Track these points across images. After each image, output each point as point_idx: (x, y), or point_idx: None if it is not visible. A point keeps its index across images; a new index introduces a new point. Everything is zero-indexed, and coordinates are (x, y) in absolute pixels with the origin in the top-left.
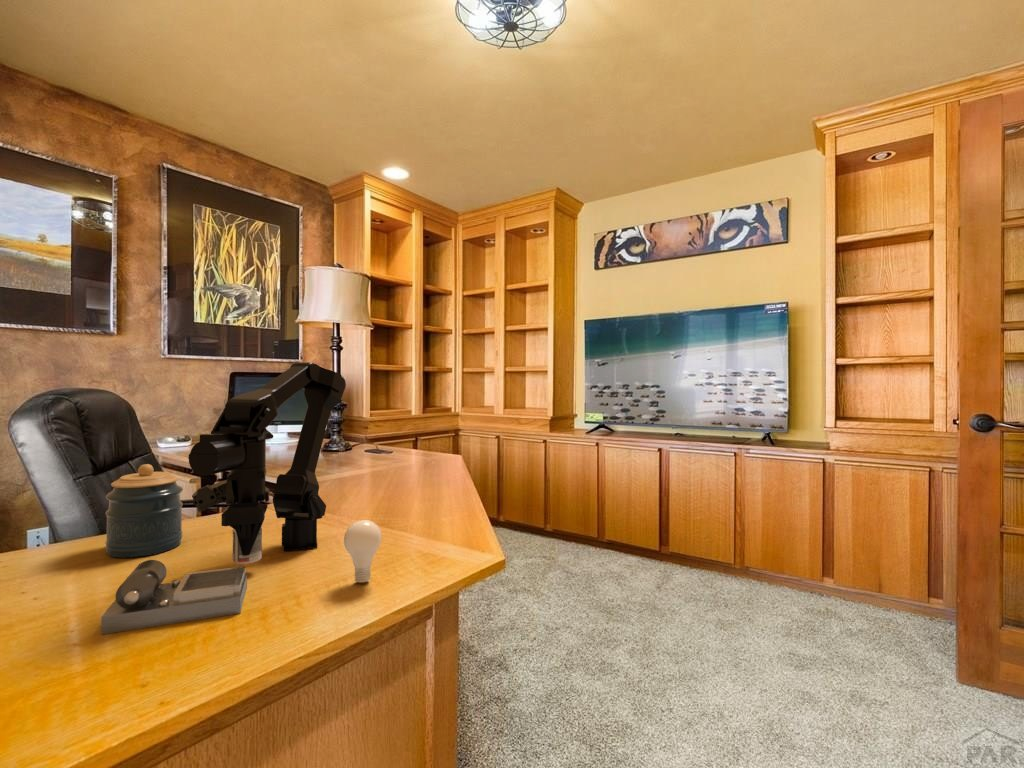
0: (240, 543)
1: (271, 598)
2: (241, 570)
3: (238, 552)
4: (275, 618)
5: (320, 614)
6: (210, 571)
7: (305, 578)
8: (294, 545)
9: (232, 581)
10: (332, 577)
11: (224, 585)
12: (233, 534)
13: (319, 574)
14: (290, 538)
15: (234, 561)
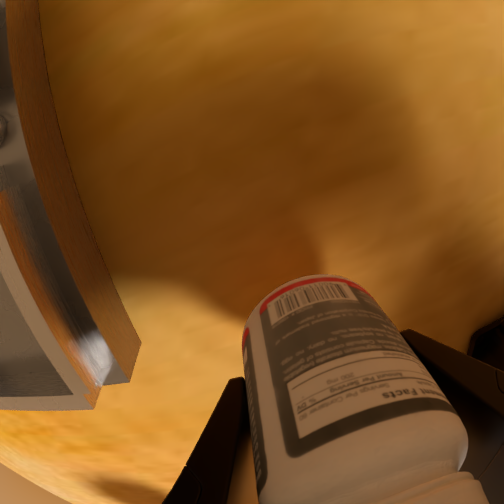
0: (197, 445)
1: (82, 410)
2: (58, 403)
3: (248, 365)
4: (10, 418)
5: (49, 466)
6: (15, 290)
7: None
8: (481, 361)
9: (46, 355)
10: None
11: (13, 339)
12: (309, 427)
13: None
14: (502, 361)
15: (262, 303)
